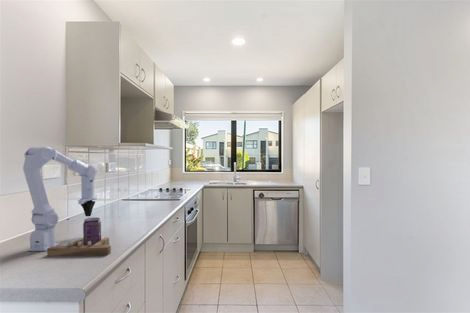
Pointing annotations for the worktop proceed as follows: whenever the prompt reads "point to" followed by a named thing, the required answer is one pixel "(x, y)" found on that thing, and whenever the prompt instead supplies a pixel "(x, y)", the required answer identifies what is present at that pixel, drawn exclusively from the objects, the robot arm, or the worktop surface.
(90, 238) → the beverage can
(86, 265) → the worktop surface
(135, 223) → the worktop surface
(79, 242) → the pin nest
